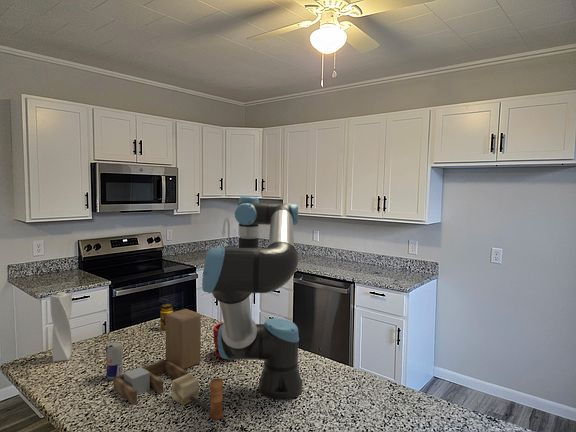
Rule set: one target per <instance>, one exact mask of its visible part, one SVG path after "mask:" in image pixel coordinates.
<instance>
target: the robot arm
mask: <svg viewBox="0 0 576 432" xmlns="http://www.w3.org/2000/svg"><path fill="white" fill-rule="evenodd" d="M238 200H239V201H238V205H237V207H236V208H235V210H234V217H235V220H236V221H237V223H238V237H239V238H238V244H237V245H238V247H224V246H221V247H220V246H219V247H211V248H209V249H208V250H207V251H206V254H205V257H204V259H205V260H204V264H203V269H202V270H203V271H202V279H201V280H202V283H201V284H202V285H201V289H202V291H203V292H205V293H208V294H212V296H213V298H214V299H215V300H216V301H217V302H219V305H220V310H221V315H222V319H223V323H224V324H222V325H221V326H220V328H219V332H218V350H219V354H220V356H221V357H222V358H221V359H223V358H224V360H230V361H234V360H245V361H246V360H248V361H249V360H250V361H252V360H253V361H257V360H258V361H263V368H262V371H261V374H260V377H259V378H258V379H259V380H258V391H259V393H260V394H261V395H262V396H263V397H265V398H268V399H270V400H271V399H272V400H276V401H277V400H278V401H283V400H285V401H286V400H291V399H294V398H296V397H298V396H299V395H301V394H302V392H303V379H302V377H301V374H300V373H301V372H300V370H299V341H300V337H299V328H298V326H297V324H296V323H295V322H293V321H290V320H288V319H284V318H278V317H277V318H276V317H273V318H268V319H266V320H265V321H264V323H256V322H255V321H254V319H252V313H251V312H252V311H251V310H252V309H251V301H250V297H251V295H252V294H268V293H271V292H275V291H277V290H278V289H280V288H282V287H284V285H286V283H288V282H289V281H290V280H291V278H292V277H293V276H294V275H295V273H296V271H297V269H298V266H299V265H298V264H299V253H298V251H297V248H296V247H295V241H294V240H295V239H294V226H296V225H298V223H299V206H298V205H297V204H295V203H289V202H288V203H287V202H286V203H264V202H261V203H260V201H259V197H257V196H241V197H239V198H238ZM259 225H269V226H270V227H269V237H268V244H267V247H259V238H258V237H259Z"/></svg>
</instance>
